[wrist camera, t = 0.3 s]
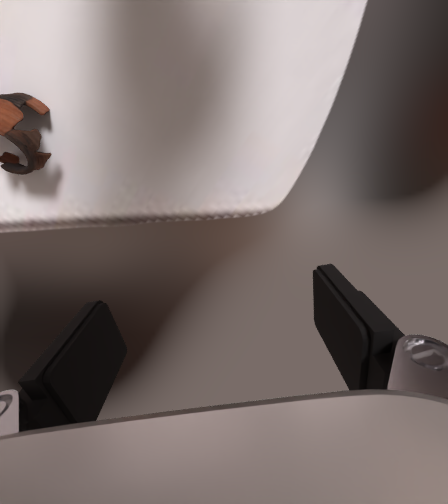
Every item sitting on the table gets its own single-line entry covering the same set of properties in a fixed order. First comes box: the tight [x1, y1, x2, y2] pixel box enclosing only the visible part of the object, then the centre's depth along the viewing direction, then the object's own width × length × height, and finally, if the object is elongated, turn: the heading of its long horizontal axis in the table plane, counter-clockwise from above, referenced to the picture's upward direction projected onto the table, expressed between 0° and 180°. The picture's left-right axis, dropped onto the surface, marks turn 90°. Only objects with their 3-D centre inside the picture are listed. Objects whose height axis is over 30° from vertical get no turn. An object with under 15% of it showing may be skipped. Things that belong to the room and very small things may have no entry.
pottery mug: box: [0, 93, 51, 175], centre depth 32 cm, size 12×9×8 cm
